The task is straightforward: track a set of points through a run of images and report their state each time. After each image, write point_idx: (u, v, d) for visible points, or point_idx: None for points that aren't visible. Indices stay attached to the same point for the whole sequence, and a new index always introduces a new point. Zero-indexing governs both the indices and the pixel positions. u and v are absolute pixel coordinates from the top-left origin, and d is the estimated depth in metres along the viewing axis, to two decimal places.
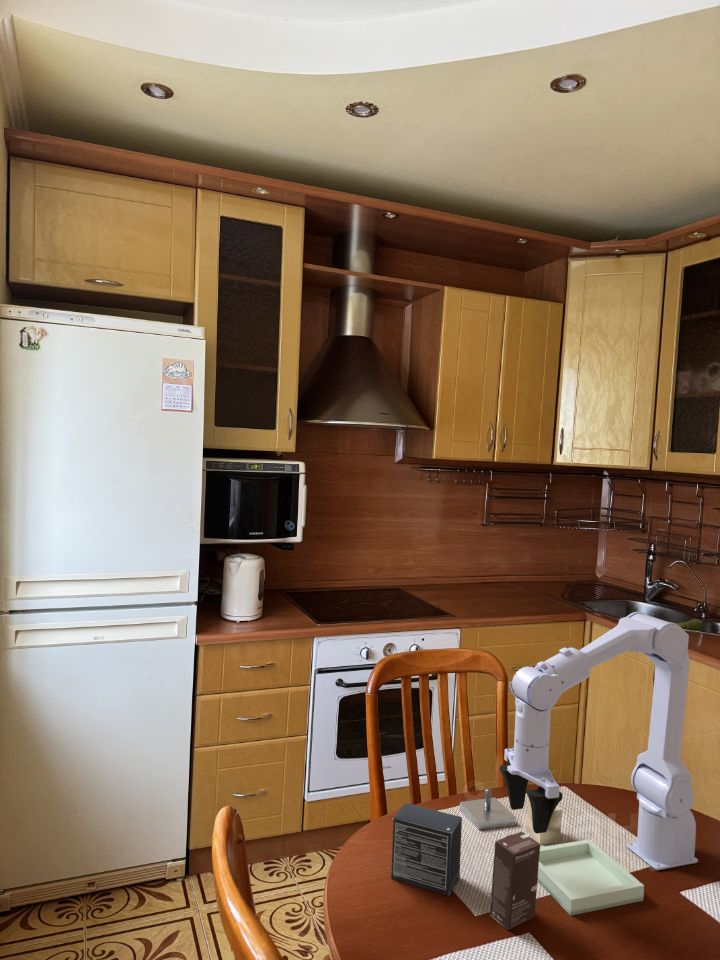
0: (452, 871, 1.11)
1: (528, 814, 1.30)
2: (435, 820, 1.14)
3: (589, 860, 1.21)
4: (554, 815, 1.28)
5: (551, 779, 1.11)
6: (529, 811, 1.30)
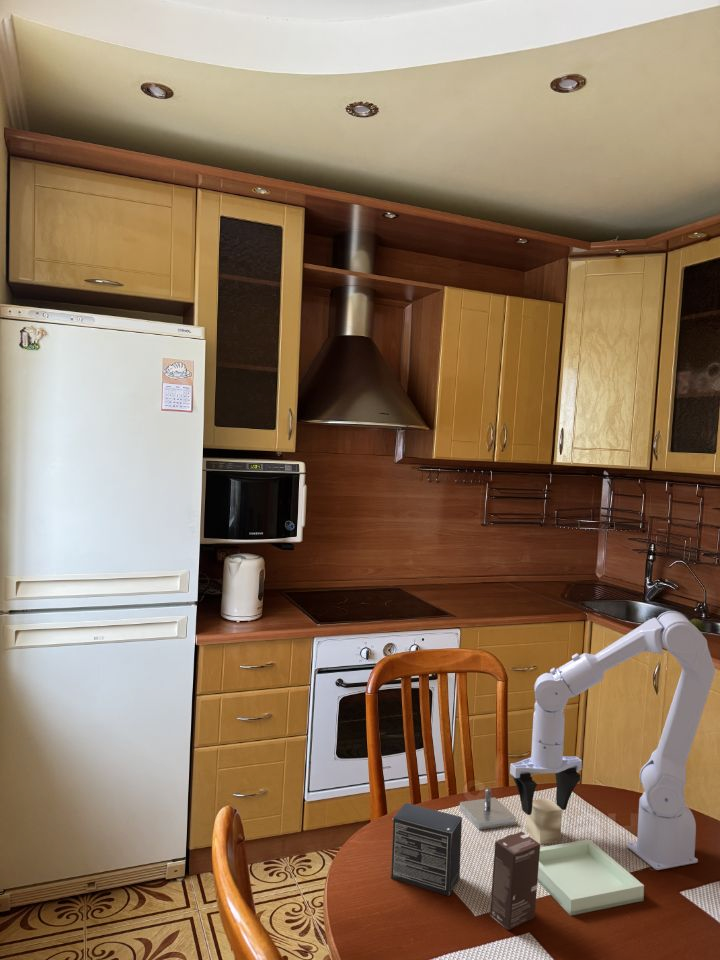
0: (452, 871, 1.11)
1: None
2: (435, 820, 1.14)
3: (589, 860, 1.21)
4: (554, 815, 1.28)
5: None
6: None
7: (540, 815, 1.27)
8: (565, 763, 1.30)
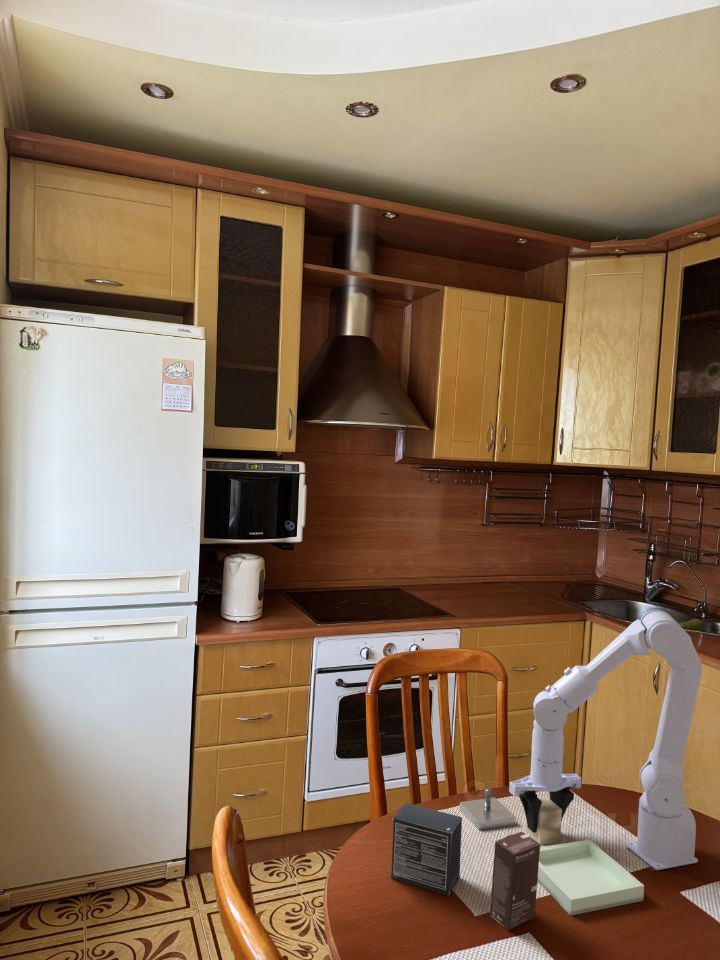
0: (452, 871, 1.11)
1: None
2: (435, 820, 1.14)
3: (589, 860, 1.21)
4: (554, 815, 1.28)
5: (527, 786, 1.27)
6: None
7: (540, 814, 1.27)
8: (564, 781, 1.30)
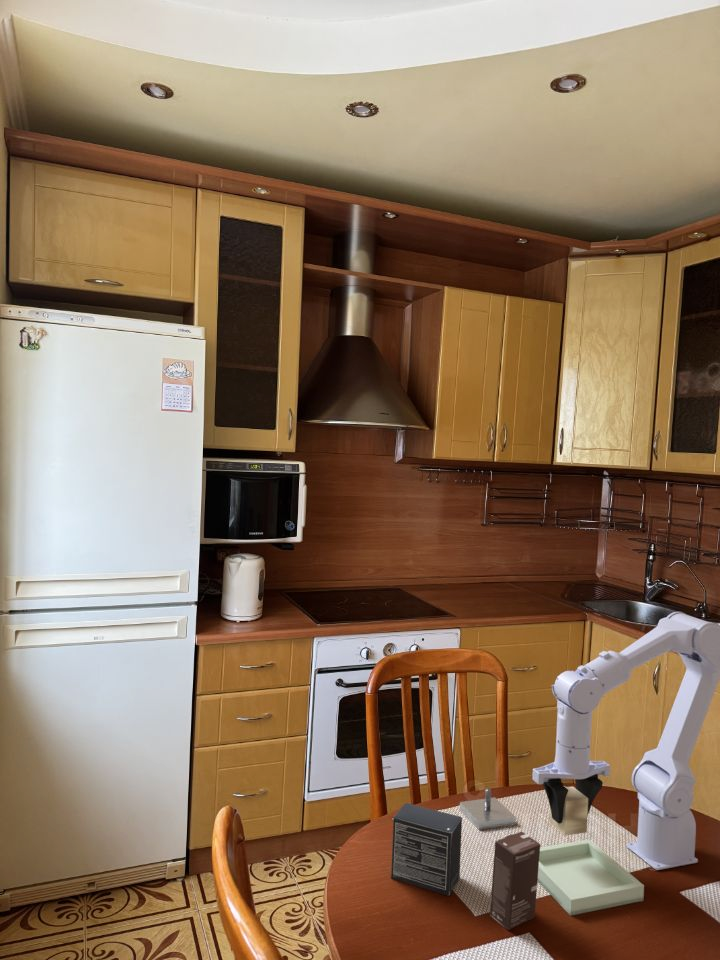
0: (452, 871, 1.11)
1: None
2: (435, 820, 1.14)
3: (589, 860, 1.21)
4: (580, 804, 1.18)
5: (551, 773, 1.17)
6: None
7: (565, 803, 1.17)
8: (592, 768, 1.20)
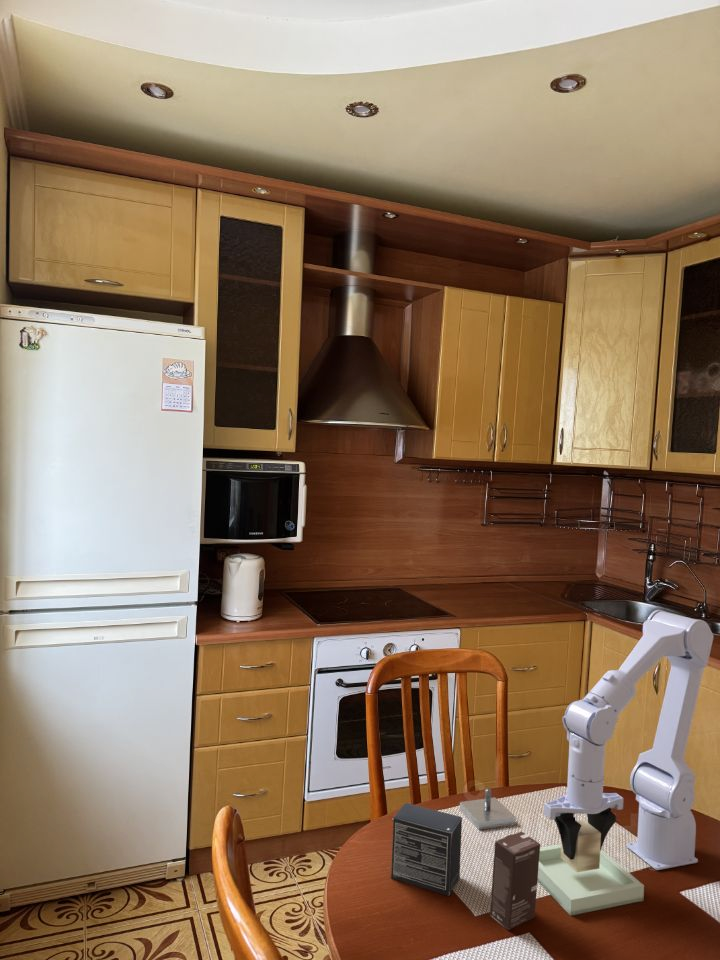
0: (452, 871, 1.11)
1: None
2: (435, 820, 1.14)
3: None
4: (592, 839, 1.14)
5: (563, 807, 1.13)
6: None
7: (577, 839, 1.13)
8: (605, 801, 1.16)
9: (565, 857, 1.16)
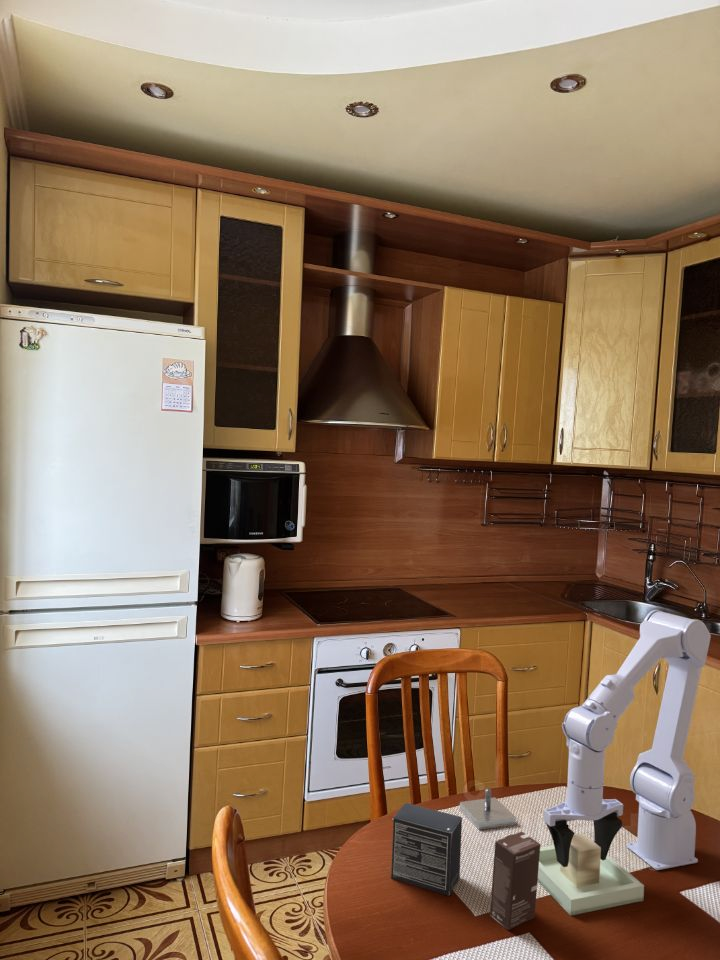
0: (452, 871, 1.11)
1: None
2: (435, 820, 1.14)
3: None
4: (592, 854, 1.14)
5: (563, 814, 1.13)
6: None
7: (577, 854, 1.13)
8: (604, 808, 1.16)
9: (565, 871, 1.16)
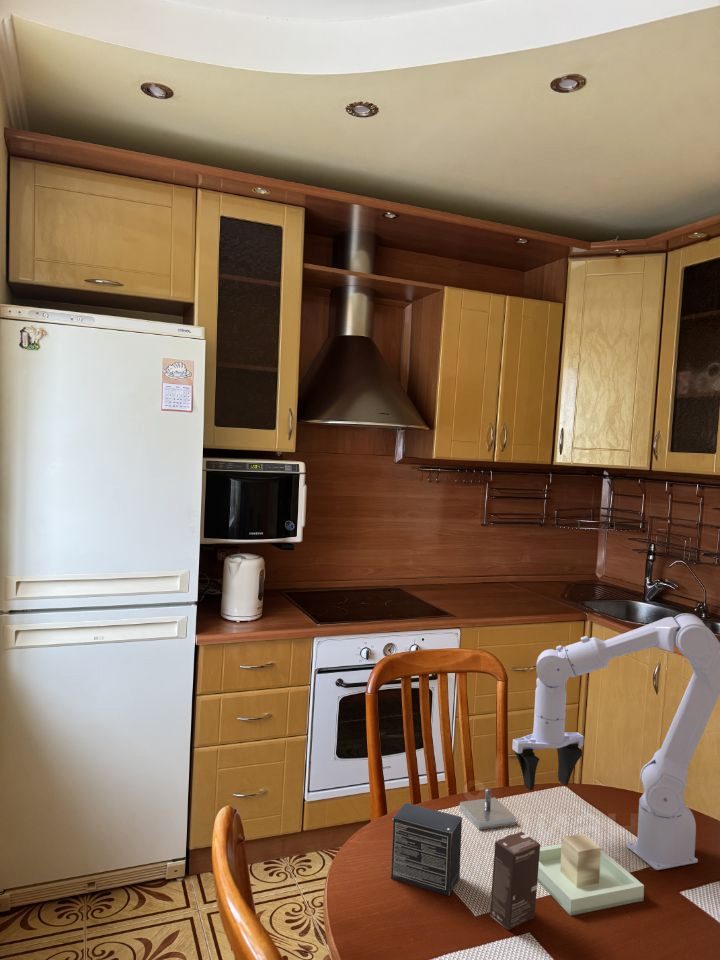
0: (452, 871, 1.11)
1: (562, 852, 1.17)
2: (435, 820, 1.14)
3: None
4: (592, 854, 1.14)
5: (530, 743, 1.27)
6: (563, 848, 1.17)
7: (577, 854, 1.13)
8: (567, 739, 1.31)
9: (565, 871, 1.16)
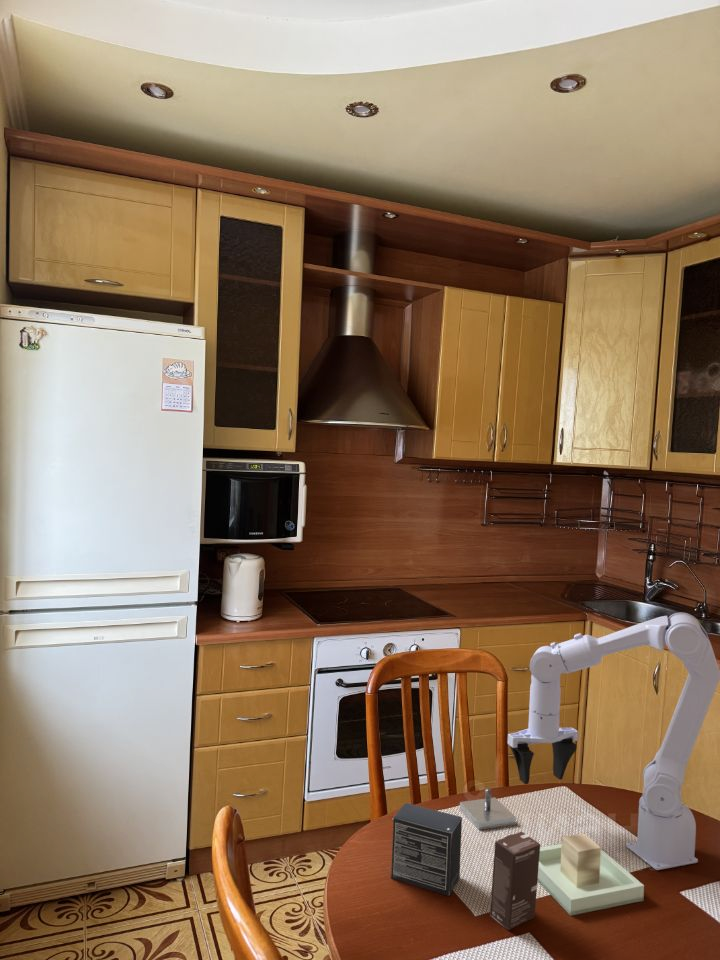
0: (452, 871, 1.11)
1: (562, 852, 1.17)
2: (435, 820, 1.14)
3: None
4: (592, 854, 1.14)
5: None
6: (563, 848, 1.17)
7: (577, 854, 1.13)
8: (561, 734, 1.33)
9: (565, 871, 1.16)
